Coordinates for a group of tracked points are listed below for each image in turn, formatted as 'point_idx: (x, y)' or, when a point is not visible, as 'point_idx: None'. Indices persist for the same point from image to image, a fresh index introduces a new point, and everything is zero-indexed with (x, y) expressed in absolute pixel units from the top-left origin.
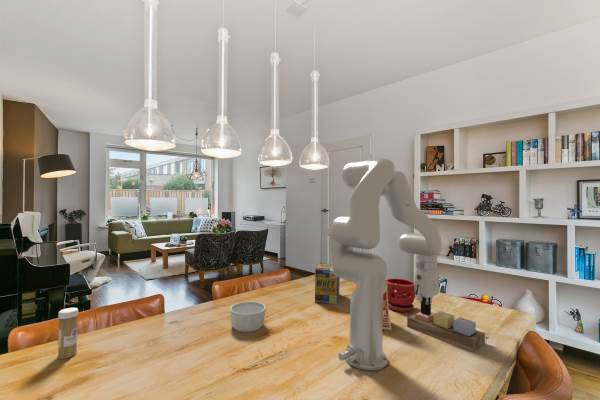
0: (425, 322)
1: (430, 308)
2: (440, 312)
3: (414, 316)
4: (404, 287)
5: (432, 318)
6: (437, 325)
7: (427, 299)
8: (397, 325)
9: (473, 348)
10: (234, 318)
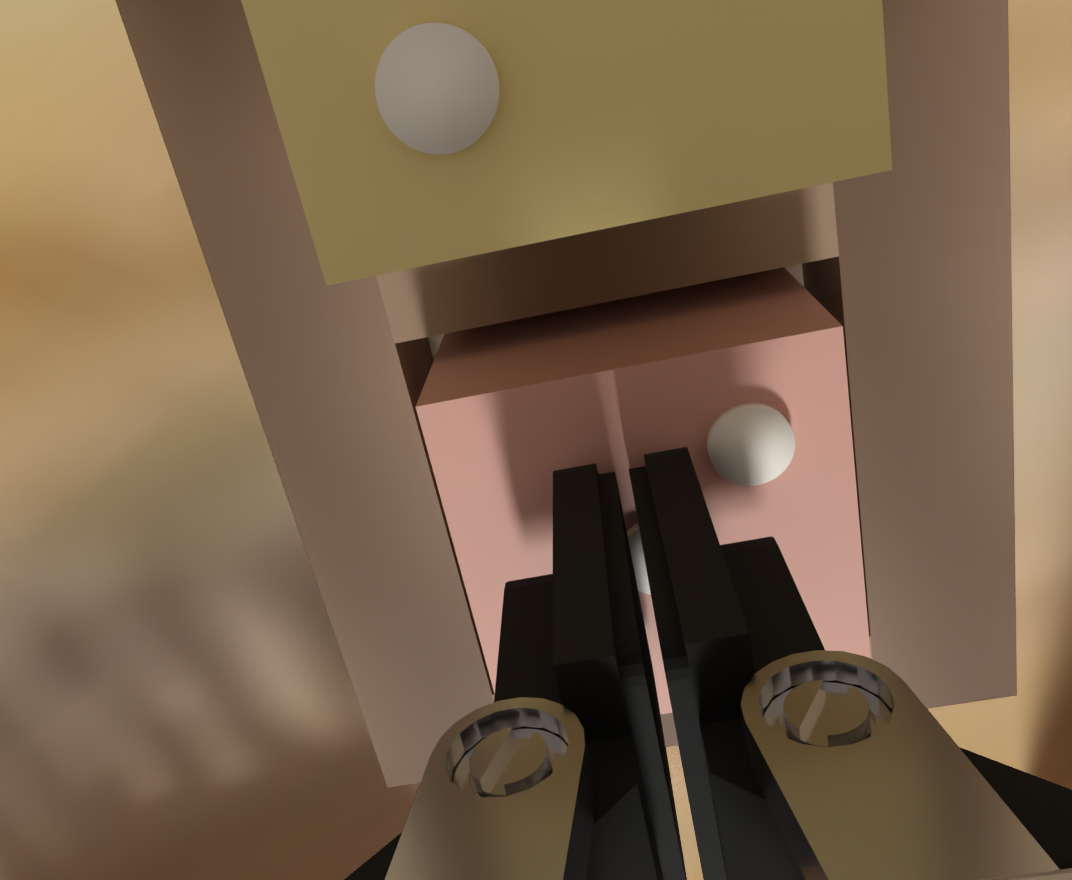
0: (893, 310)
1: (580, 557)
2: (452, 181)
3: None
4: None
5: (577, 352)
6: None
7: (907, 856)
8: (1051, 678)
9: None
10: None
